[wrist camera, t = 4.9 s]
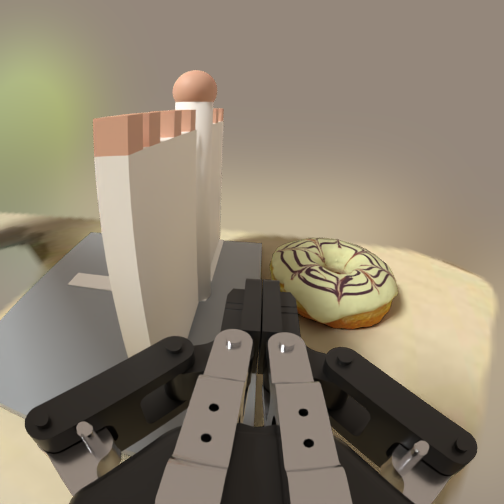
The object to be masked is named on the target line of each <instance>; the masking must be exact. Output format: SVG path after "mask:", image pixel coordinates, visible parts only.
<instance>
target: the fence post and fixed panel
mask: <svg viewBox="0 0 504 504" xmlns="http://www.w3.org/2000/svg"><path fill="white" fill-rule="evenodd" d="M216 95H217V85H216V82H215V80H214V79H213V78H212V77H211V76H210V75H209V74H208V73H205V72H203V71H198V70H194V71H189V72H186V73H184V74H183V75H181V76H180V77H179V78H178V79H177V81H176V82H175V84H174V87H173V98H174V100H175V102H176V105H175V110H196V124H195V129H197V144H196V239H197V275H198V300H199V301H202V300H203V299H206V298H208V297H209V296H210V295H211V263H212V260H213V257H214V254H215V251H216V248H217V245H218V242H219V239H220V220H221V178H222V147H223V122H224V121H223V111H224V109H219V108H218V109H215V108H213V102H214V100H215V98H216Z"/></svg>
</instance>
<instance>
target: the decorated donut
mask: <svg viewBox="0 0 504 504" xmlns="http://www.w3.org/2000/svg"><path fill="white" fill-rule="evenodd" d="M270 271H271V277H272V280H279V281H280V292H291V294H292V295H293V296H294V297H295V299H296V304H297V311H298V313H299V314H300V315H301V316H303V317H305V318H309V319H313V320H314V321H317V322H320V323H324V324H327V325H329V326H330V327H332V328H345V329H355V328H359V327H368V326H372V325H373V324H377V323H379V322H380V321H381V319H382V318H383V316H384V315H385V314H386V313H387V312H388V311H389V309H390V307H391V303H392V300H393V299H394V297H395V296H396V295H397V294H398V290H397V285H396V280H395V277H394V275H393V273H392V271H391V269H390V267H389V266H388V265H387V264H386V263H385V262H383V261H382V260H381V259H380V258H379V257H378V256H376V255H375V254H373V253H371V252H370V251H368V250H367V249H364V248H362V247H360V246H358V245H355V244H352V243H348V242H344V241H341V240H338V239H329V238H307V239H302V240H298V241H293V242H290V243H287V244H285V245H282V246H280V247H278V248H277V250H276V251H275V253H274V254H273V256H272V261H271V263H270Z"/></svg>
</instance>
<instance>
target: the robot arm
mask: <svg viewBox="0 0 504 504" xmlns="http://www.w3.org/2000/svg"><path fill="white" fill-rule="evenodd" d="M261 297H262V298H261ZM258 350H259V354H258ZM257 360H258V374H263V385H262V398H263V412H264V426H263V427H253V426H250V425H246V424H243V420H244V414H245V408H246V402H247V396H248V390H249V385H250V383H251V376H252V373H253V374H256V370H257ZM350 396H351V397H350ZM355 400H356V401H355ZM360 404H361V405H360ZM187 408H188V409H187ZM365 408H366V409H365ZM186 409H187V412H186V416H185V419H184V422H183V425H182V426H179V427H176V428H174V429H171V430H169V431H167V432H166V433H164V434H162V435H161V436H160V437H158V438H157V439H156V440H154V441H153V442H151V443H150V444H149V445H147V446H146V447H144V448H143V449H141V450H140V451H139V452H137V453H136V454H134V455H133V456H131V457H130V458H128V459H127V460H125V461H124V462H122V463H121V464H119V463H120V461H121V452H122V451H124V450H125V449H127V448H129V447H130V446H132V445H133V444H135V443H136V442H138V441H140V440H141V439H143V438H144V437H146V436H147V435H149V434H150V433H152V432H153V431H155V430H156V429H158V428H160V427H161V426H162V425H164V424H165V423H167V422H168V421H170V420H171V419H173V418H174V417H176V416H177V415H179V414H180V413H182V412H183V411H184V410H186ZM331 427H333V428H334V429H335V430H336V431H337V432H338V433H339V434H341V435H342V436H343V437H344V438H345V439H346V440H347V441H349V442H350V443H351V444H352V445H353V446H354V447H356V448H357V449H358V450H359V451H360V452H362V453H363V454H364V455H365V456H366V457H368V458H369V459H370V460H371V461H372V462H374V463H375V464H376V465H377V466H379V467H380V474H379V473H378V472H377V471H376V470H375V469H373V468H372V467H371V466H370V465H369V464H368V463H367V462H366V461H364V460H363V459H362V458H361V457H360V456H359V455H358V454H357V453H356V452H355V451H353V450H352V449H351V448H350V447H349V446H348V445H347V444H346V443H345V442H343V441H342V440H340V439H339V438H337V437H335V436H333V433H332V429H331ZM25 428H26V431H27V432H28V434H29V435H30V436H31V437H32V438H33V440H34V441H35V442H36V443H37V445H38V447H39V448H40V449H41V450H42V451H43V452H44V453H45V454H46V456H47V457H48V458H49V459H50V460H51V462H52V464H53V465H54V467H55V469H56V470H57V472H58V474H59V475H60V477H61V479H62V480H63V482H64V483H65V485H66V486H67V488H68V490H69V491H70V493H71V494H72V496H73V498H72V499H71V501H70V503H69V504H432V502H433V501H434V500H435V498H436V497H437V496H438V494H439V493H440V492H441V490H442V489H443V487H444V486H445V485H446V483H447V482H448V480H449V479H450V478H452V477H453V476H454V475H455V474H456V473H458V472H459V471H460V470H461V469H462V468H463V467H465V466H466V465H467V464H468V463H469V462H470V461H471V460H472V459H473V458H474V457H475V455H476V453H477V443H476V441H475V439H474V437H473V436H472V435H471V434H470V433H469V432H467V431H466V430H464V429H463V428H461V427H460V426H459V425H457V424H456V423H454V422H453V421H451V420H450V419H449V418H447V417H446V416H444V415H443V414H441V413H440V412H439V411H437V410H436V409H434V408H433V407H432V406H430V405H429V404H427V403H426V402H425V401H423V400H422V399H420V398H419V397H418V396H416V395H415V394H413V393H412V392H411V391H409V390H408V389H406V388H405V387H404V386H402V385H401V384H399V383H398V382H397V381H395V380H394V379H393V378H391V377H390V376H388V375H387V374H386V373H384V372H383V371H381V370H380V369H379V368H377V367H376V366H375V365H373V364H372V363H370V362H369V361H368V360H366V359H365V358H364V357H362V356H361V355H360V354H358V353H357V352H355V351H354V350H352V349H349V348H345V347H337V348H333V349H331V350H330V351H329V352H328V353H327V354H324V353H320V352H317V351H314V350H312V349H310V348H308V347H307V346H306V345H305V342H304V341H303V339H302V338H301V336H300V328H299V319H298V311H297V304H296V299H295V297H294V296H293V295H292V294H291V292H280V281H279V280H264V279H263V287H262V279H249V278H246V282H245V289H235V288H233V289H232V290H231V291H230V292H229V293H228V295H227V299H226V304H225V310H224V315H223V320H222V326H221V331H220V333H219V334H217V336H216V337H215V340H213V341H212V342H209V343H207V344H202V345H194V346H193V344H192V342H191V341H190V340H188V339H187V338H184V337H181V336H170V337H166V338H164V339H162V340H160V341H159V342H157V343H155V344H153V345H151V346H150V347H148V348H146V349H144V350H142V351H141V352H139V353H137V354H135V355H133V356H131V357H130V358H128V359H126V360H124V361H122V362H120V363H119V364H117V365H115V366H113V367H111V368H109V369H107V370H106V371H104V372H102V373H100V374H98V375H96V376H94V377H92V378H90V379H89V380H87V381H85V382H83V383H81V384H79V385H77V386H75V387H73V388H71V389H70V390H68V391H66V392H64V393H62V394H60V395H58V396H56V397H54V398H52V399H50V400H48V401H46V402H44V403H42V404H40V405H38V406H36V407H35V408H33V409H32V410H30V412H29V413H28V414H27V416H26V419H25Z"/></svg>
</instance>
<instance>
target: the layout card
mask: <svg viewBox="0 0 504 504" xmlns="http://www.w3.org/2000/svg"><path fill="white" fill-rule="evenodd" d="M261 255H262V243H250V242H235V241H224V240H219V242H218V245H217V248H216V251H215V254H214V257H213V260H212V263H211V295H210V296H209V297H208V298H206V299H203V300H202V301H199V303H198V306H197V309H196V313H195V316H194V319H193V322H192V325H191V329H190V332H189V335H188V338H187V339H188V340H190V341H191V342H192V344H193V346H194V345H202V344H207V343H209V342H212V341H213V340H215V337H216V336H217V334H219V333H220V331H221V326H222V320H223V315H224V310H225V304H226V299H227V295H228V293H229V292H230V291H231V290H232V289H233V288H235V289H245V282H246V278H249V279H261ZM126 359H128V355H127V352H126V348H125V344H124V341H123V337H122V333H121V329H120V325H119V321H118V317H117V312H116V308H115V303H114V299H113V294H112V289H111V284H110V279H109V274H108V268H107V262H106V257H105V250H104V244H103V237H102V233H92V232H91V233H90V234H89V235H88V236H86V237H85V238H84V239H83V240H82V241H81V242H79V243H78V244H77V245H76V246H75V247H74V248H73V249H72V250H70V251H69V252H68V253H67V254H66V255H65V256H64V257H63V258H62V259H61V260H60V261H58V262H57V263H56V264H55V265H54V266H53V267H52V268H51V269H50V270H49V271H48V272H47V273H46V274H45V275H44V276H43V277H42V278H41V279H40V280H39V281H38V282H37V283H36V284H35V285H34V286H33V287H32V288H31V289H30V290H29V291H28V292H27V293H26V294H25V295H24V296H23V297H22V298H21V299H20V300H19V301H18V302H17V303H16V304H15V305H14V306H13V307H12V308H11V309H10V310H9V311H8V313H7V314H6V315H5V316H4V317H3V318H2V319H1V320H0V407H2V408H4V409H6V410H8V411H10V412H12V413H14V414H16V415H18V416H20V417H22V418H25V419H26V416H27V414H28V413H29V412H30V410H32V409H33V408H35V407H36V406H38V405H40V404H42V403H44V402H46V401H48V400H50V399H52V398H54V397H56V396H58V395H60V394H62V393H64V392H66V391H68V390H70V389H71V388H73V387H75V386H77V385H79V384H81V383H83V382H85V381H87V380H89V379H90V378H92V377H94V376H96V375H98V374H100V373H102V372H104V371H106V370H107V369H109V368H111V367H113V366H115V365H117V364H119V363H120V362H122V361H124V360H126ZM256 372H257V370H256ZM255 393H256V374H253V373H252V376H251V383H250V385H249V390H248V396H247V402H246V408H245V414H244V420H243V424H246V425H250V426H253V427H254V413H255ZM187 409H188V408H187ZM187 409H186V410H184V411H183V412H182V413H180V414H179V415H177V416H176V417H174V418H173V419H171V420H170V421H168V422H167V423H165V424H164V425H162V426H161V427H160V428H158V429H156V430H155V431H153V432H152V433H150V434H149V435H147V436H146V437H144V438H143V439H141V440H140V441H138V442H136V443H135V444H133V445H132V446H130V447H129V448H127V449H125V450H124V451H122V452H121V453H122V454H126V455H130V456H133V455H134V454H136V453H137V452H139V451H140V450H141V449H143V448H144V447H146V446H147V445H149V444H150V443H151V442H153V441H154V440H156V439H157V438H158V437H160V436H161V435H162V434H164V433H166V432H167V431H169V430H171V429H174V428H176V427H179V426H182V425H183V422H184V419H185V416H186V412H187Z"/></svg>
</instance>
